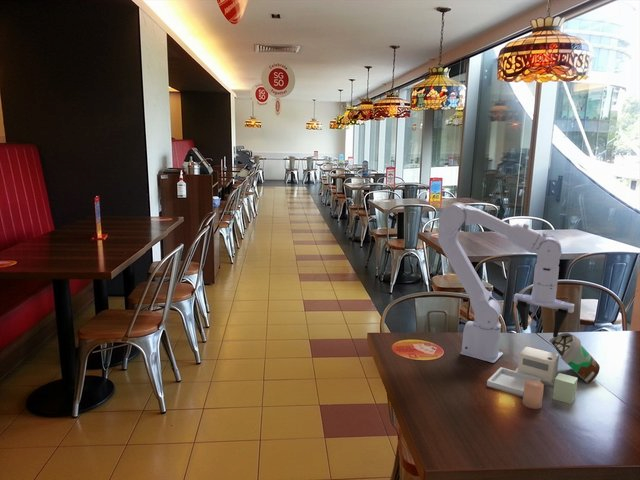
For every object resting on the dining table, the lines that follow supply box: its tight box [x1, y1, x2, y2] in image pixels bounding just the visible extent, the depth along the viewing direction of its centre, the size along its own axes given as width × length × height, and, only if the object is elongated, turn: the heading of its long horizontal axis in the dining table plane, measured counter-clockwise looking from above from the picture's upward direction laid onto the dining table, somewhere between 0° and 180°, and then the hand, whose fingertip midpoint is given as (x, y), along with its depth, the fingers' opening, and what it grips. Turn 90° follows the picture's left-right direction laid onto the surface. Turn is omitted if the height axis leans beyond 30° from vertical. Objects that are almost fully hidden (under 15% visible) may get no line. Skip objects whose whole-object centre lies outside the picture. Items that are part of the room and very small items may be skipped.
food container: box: [548, 332, 601, 385], centre depth 125 cm, size 12×6×10 cm
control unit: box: [514, 346, 560, 389], centre depth 125 cm, size 10×8×6 cm
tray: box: [486, 366, 542, 398], centre depth 120 cm, size 10×10×1 cm
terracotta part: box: [522, 380, 545, 410], centre depth 111 cm, size 4×4×5 cm
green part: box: [552, 372, 579, 405], centre depth 114 cm, size 4×4×5 cm
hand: (539, 332), depth 130 cm, fingers open, 7 cm apart
